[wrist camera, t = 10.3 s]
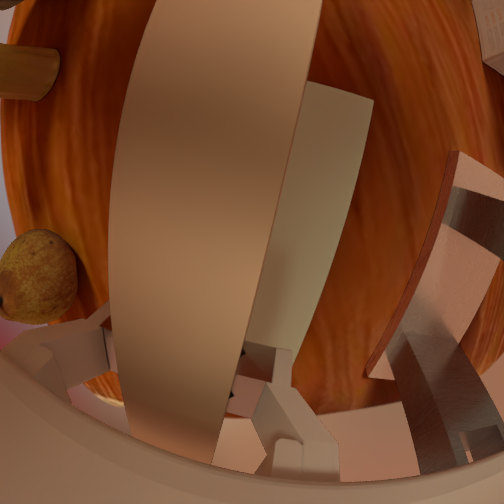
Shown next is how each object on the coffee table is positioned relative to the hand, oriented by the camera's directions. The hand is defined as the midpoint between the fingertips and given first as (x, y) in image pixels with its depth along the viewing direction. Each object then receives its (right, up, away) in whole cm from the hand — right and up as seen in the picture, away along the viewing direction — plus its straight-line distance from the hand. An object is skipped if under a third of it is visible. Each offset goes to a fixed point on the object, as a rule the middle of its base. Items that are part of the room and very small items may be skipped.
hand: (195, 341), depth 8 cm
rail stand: (+18, 0, +10) cm, 21 cm away
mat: (+2, +4, +11) cm, 12 cm away
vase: (-20, +21, +9) cm, 30 cm away
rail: (0, 0, +1) cm, 1 cm away
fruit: (-18, +2, +15) cm, 24 cm away
